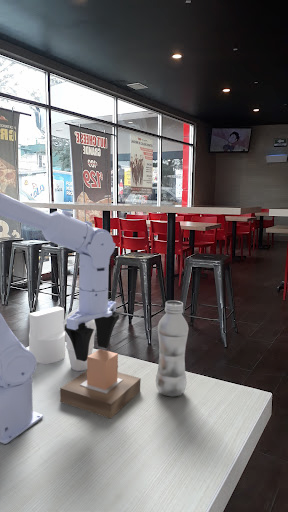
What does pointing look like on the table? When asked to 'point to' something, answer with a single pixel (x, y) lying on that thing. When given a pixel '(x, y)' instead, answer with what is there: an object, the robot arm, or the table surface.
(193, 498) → the table surface
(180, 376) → the plastic bottle
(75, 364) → the soft serve ice cream cone
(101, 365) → the terracotta cube
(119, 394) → the walnut pedestal
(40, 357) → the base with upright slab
